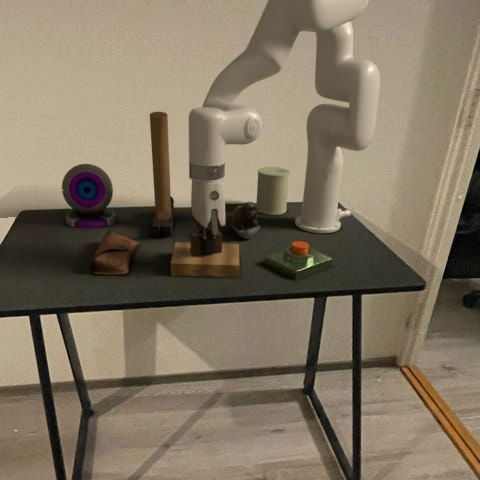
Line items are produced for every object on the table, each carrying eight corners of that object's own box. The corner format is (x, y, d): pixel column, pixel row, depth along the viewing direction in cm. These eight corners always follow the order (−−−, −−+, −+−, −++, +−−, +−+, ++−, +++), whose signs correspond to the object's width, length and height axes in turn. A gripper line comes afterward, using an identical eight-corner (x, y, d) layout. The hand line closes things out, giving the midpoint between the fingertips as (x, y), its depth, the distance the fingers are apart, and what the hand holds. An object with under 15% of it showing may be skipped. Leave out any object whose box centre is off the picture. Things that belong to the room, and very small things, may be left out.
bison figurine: (227, 226, 145) (228, 190, 140) (252, 225, 147) (254, 189, 141) (236, 243, 135) (238, 205, 130) (263, 242, 137) (266, 204, 131)
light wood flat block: (238, 255, 129) (238, 243, 127) (238, 277, 119) (239, 264, 117) (175, 253, 128) (175, 241, 127) (171, 275, 118) (170, 262, 116)
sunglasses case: (130, 273, 117) (112, 248, 114) (103, 287, 119) (85, 263, 115) (140, 241, 133) (124, 219, 129) (116, 254, 134) (100, 232, 131)
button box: (300, 252, 132) (301, 237, 130) (331, 266, 126) (333, 251, 123) (264, 264, 125) (266, 248, 123) (295, 280, 119) (297, 263, 117)
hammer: (171, 247, 137) (167, 132, 117) (151, 246, 137) (143, 131, 117) (174, 207, 152) (171, 99, 132) (157, 207, 152) (150, 99, 132)
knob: (219, 249, 124) (219, 230, 121) (221, 252, 122) (222, 233, 120) (190, 253, 121) (190, 233, 119) (192, 256, 120) (192, 236, 118)
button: (299, 246, 126) (300, 239, 125) (311, 252, 123) (312, 245, 122) (287, 250, 123) (288, 243, 123) (299, 256, 121) (300, 249, 120)
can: (290, 214, 156) (293, 173, 149) (259, 215, 154) (261, 173, 148) (282, 204, 163) (285, 164, 157) (252, 205, 162) (254, 165, 156)
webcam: (65, 229, 139) (57, 171, 131) (66, 213, 149) (59, 158, 142) (116, 227, 142) (111, 170, 134) (114, 211, 152) (110, 157, 145)
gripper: (237, 180, 107) (234, 263, 117) (211, 160, 120) (210, 237, 129) (202, 182, 105) (201, 268, 114) (178, 162, 117) (180, 240, 127)
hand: (206, 251), depth 122 cm, fingers closed on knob, 2 cm apart
